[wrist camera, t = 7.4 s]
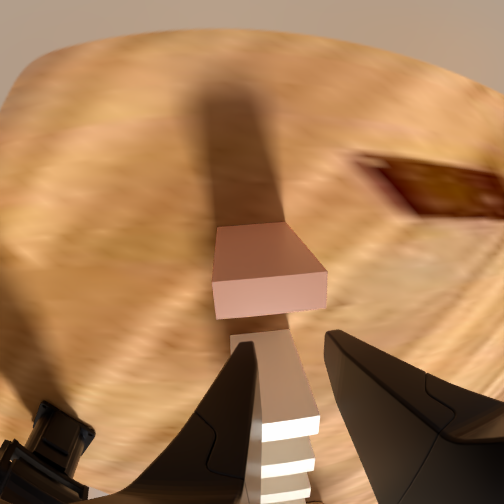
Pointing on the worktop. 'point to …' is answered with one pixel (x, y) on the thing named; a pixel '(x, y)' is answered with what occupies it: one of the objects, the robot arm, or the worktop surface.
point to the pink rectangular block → (265, 272)
